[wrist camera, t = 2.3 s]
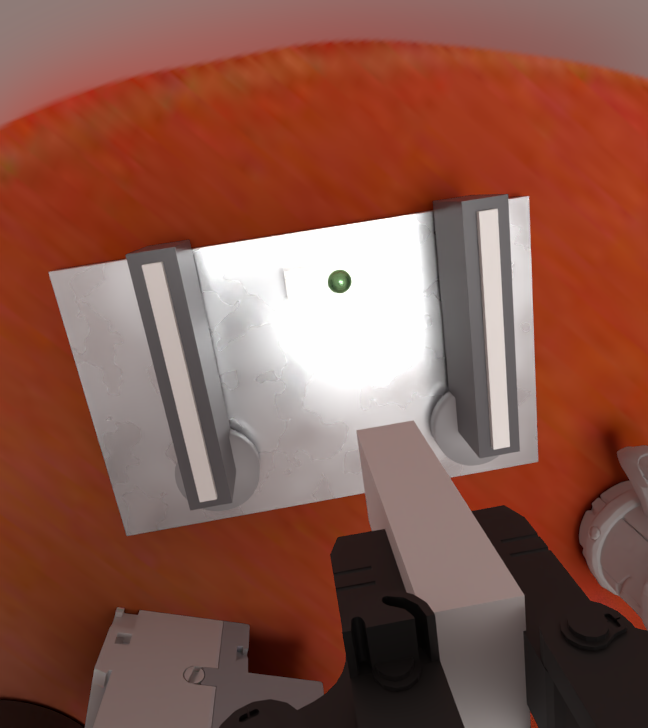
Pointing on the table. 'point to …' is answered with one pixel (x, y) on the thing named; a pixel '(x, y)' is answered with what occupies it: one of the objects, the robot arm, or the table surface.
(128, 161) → the table surface
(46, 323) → the table surface
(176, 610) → the table surface
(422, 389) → the base plate
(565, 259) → the table surface
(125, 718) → the circuit breaker
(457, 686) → the robot arm
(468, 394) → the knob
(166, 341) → the grey bar piece
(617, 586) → the mug
